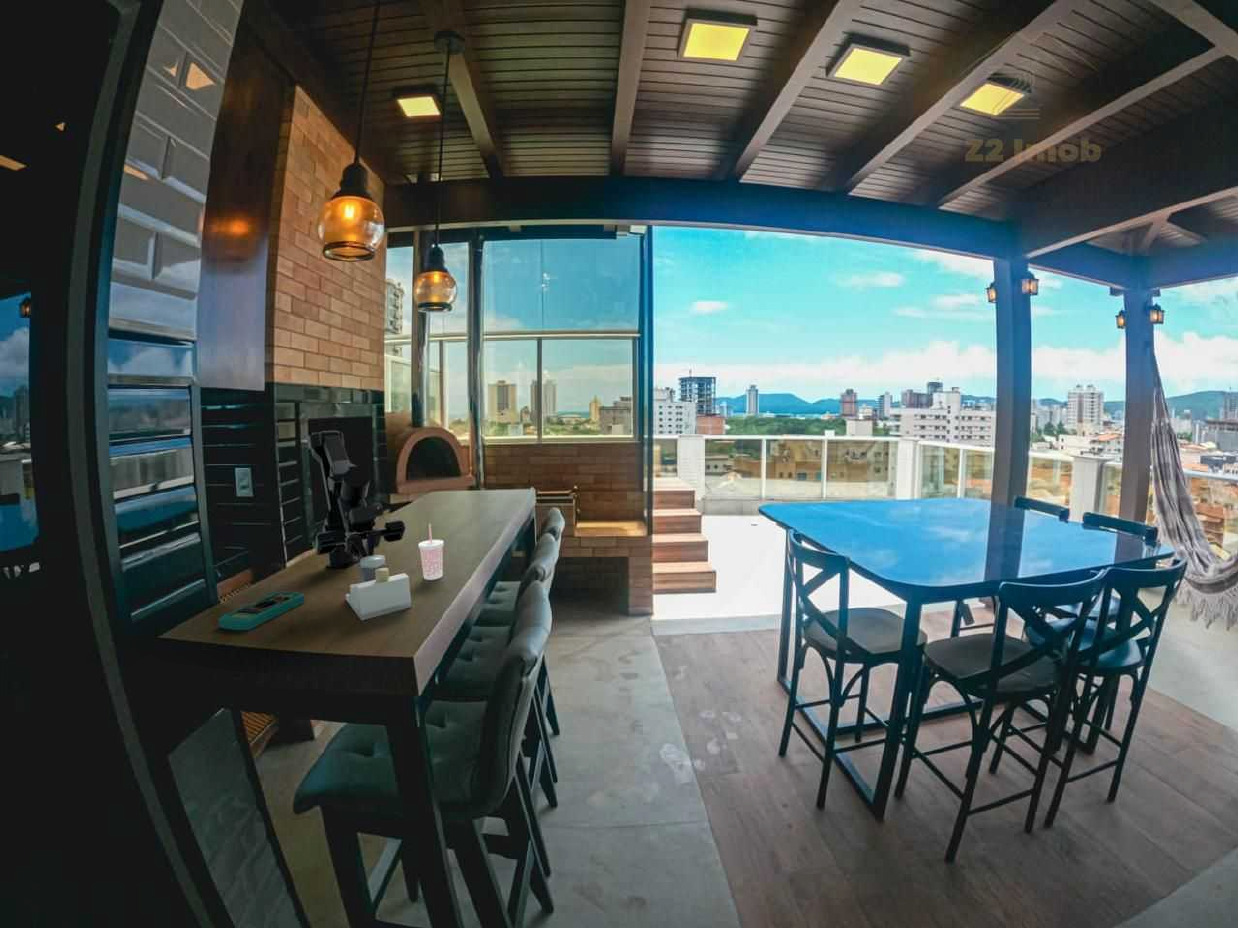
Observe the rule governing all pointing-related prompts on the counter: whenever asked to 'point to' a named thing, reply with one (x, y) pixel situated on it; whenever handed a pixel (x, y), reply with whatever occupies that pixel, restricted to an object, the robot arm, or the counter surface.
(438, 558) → the beverage cup
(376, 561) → the knob
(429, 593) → the counter surface
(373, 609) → the knob mount
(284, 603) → the digital multimeter
